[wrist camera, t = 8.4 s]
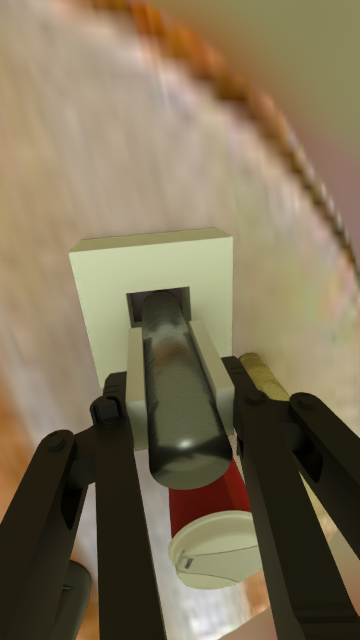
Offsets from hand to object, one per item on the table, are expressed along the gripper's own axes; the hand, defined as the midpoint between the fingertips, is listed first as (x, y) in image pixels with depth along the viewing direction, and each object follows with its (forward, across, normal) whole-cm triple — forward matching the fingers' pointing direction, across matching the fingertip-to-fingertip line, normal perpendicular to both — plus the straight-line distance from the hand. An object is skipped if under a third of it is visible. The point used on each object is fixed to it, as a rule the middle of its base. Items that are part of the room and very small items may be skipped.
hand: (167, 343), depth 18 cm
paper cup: (+9, +2, -16) cm, 18 cm away
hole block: (+9, 0, 0) cm, 9 cm away
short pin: (+9, +9, -9) cm, 16 cm away
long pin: (+5, 0, 0) cm, 5 cm away
